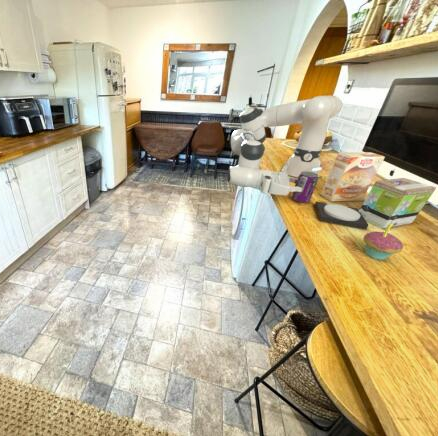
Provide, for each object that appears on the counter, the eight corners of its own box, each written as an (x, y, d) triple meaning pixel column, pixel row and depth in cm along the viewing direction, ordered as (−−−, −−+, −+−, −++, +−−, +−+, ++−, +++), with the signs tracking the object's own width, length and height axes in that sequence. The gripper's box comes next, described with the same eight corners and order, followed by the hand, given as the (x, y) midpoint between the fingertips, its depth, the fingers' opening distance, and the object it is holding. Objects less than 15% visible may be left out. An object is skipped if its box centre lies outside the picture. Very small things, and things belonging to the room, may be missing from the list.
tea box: (384, 229, 84) (407, 191, 76) (355, 216, 92) (374, 180, 84) (412, 223, 88) (438, 186, 80) (382, 211, 96) (403, 176, 88)
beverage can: (311, 204, 100) (322, 177, 94) (293, 203, 101) (303, 176, 95) (305, 197, 106) (315, 171, 100) (288, 196, 107) (297, 170, 101)
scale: (314, 205, 99) (316, 198, 98) (354, 212, 94) (358, 205, 93) (319, 220, 88) (322, 213, 87) (366, 229, 83) (370, 222, 82)
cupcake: (383, 267, 66) (407, 231, 60) (350, 249, 73) (369, 215, 67) (400, 259, 69) (424, 224, 63) (367, 243, 76) (386, 210, 70)
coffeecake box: (331, 201, 102) (351, 156, 92) (319, 195, 108) (337, 152, 99) (363, 200, 104) (386, 156, 94) (349, 194, 110) (370, 151, 100)
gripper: (263, 179, 115) (296, 184, 110) (262, 195, 99) (300, 201, 94) (267, 166, 112) (300, 170, 107) (266, 180, 96) (305, 186, 91)
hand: (300, 185), depth 101 cm, fingers open, 8 cm apart
